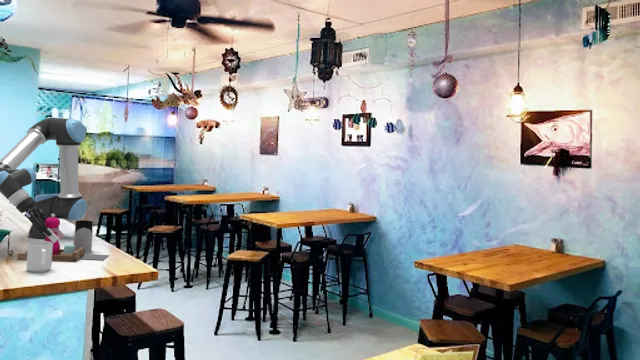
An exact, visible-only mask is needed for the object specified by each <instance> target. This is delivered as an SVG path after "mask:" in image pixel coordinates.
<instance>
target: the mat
mask: <svg viewBox="0 0 640 360" xmlns="http://www.w3.org/2000/svg"><path fill="white" fill-rule="evenodd" d="M109 256H110V255H109V254H94V253H93V254H92V253H90V254H85V255H84V256H83V257H82V258H80V259H79V260H81V261H105V260H106V259H107V258H108V257H109Z"/></svg>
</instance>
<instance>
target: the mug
mask: <svg viewBox="0 0 640 360" xmlns="http://www.w3.org/2000/svg"><path fill="white" fill-rule="evenodd" d="M26 251H27V260H26V266H25V267H26V270H27V271H28V272H30V273H44V272H48V271H49V270H51V269H52V266H53V265H52V264H53V261H52V251H53V243H52V242H48V241H45V240H44V241H43V240H40V241H39V240H38V241H35V240H34V241H30V242H28V243H27V248H26Z"/></svg>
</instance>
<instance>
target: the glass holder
mask: <svg viewBox="0 0 640 360" xmlns="http://www.w3.org/2000/svg"><path fill="white" fill-rule="evenodd" d="M74 226H75V227H74V228H75V229H74V237H73V245H74V250H78V249H79V248H81V247H85V255H86V254H92V253H93V250H92V247H93V232H94V230H93V227H94V221H93V220H85V219H84V220H81V219H80V220H75V225H74Z"/></svg>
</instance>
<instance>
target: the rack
mask: <svg viewBox="0 0 640 360" xmlns="http://www.w3.org/2000/svg"><path fill="white" fill-rule="evenodd" d="M74 251H75V252H73V253H72V256H70V255H61V252H64V248H60V250H59V251H58V252H57V253H58V255H52V262H61V263H62V262H63V263H64V262H65V263H66V262H67V263H76V262H78V261H79V260H80V258H82V257H83V256H85V255H86V254H85V247H81V248H79V249H78V250H74ZM16 259H17V261H27V254H25V253H20V252H19V253H17V258H16Z"/></svg>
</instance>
